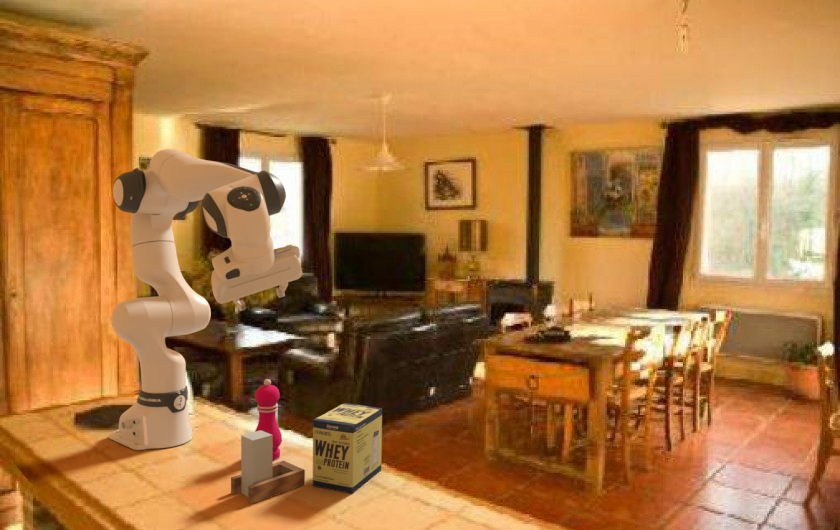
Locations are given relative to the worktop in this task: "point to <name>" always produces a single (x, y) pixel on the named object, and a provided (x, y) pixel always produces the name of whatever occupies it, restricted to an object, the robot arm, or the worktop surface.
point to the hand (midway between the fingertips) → (261, 302)
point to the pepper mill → (269, 414)
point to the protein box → (347, 447)
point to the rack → (272, 482)
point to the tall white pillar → (256, 459)
